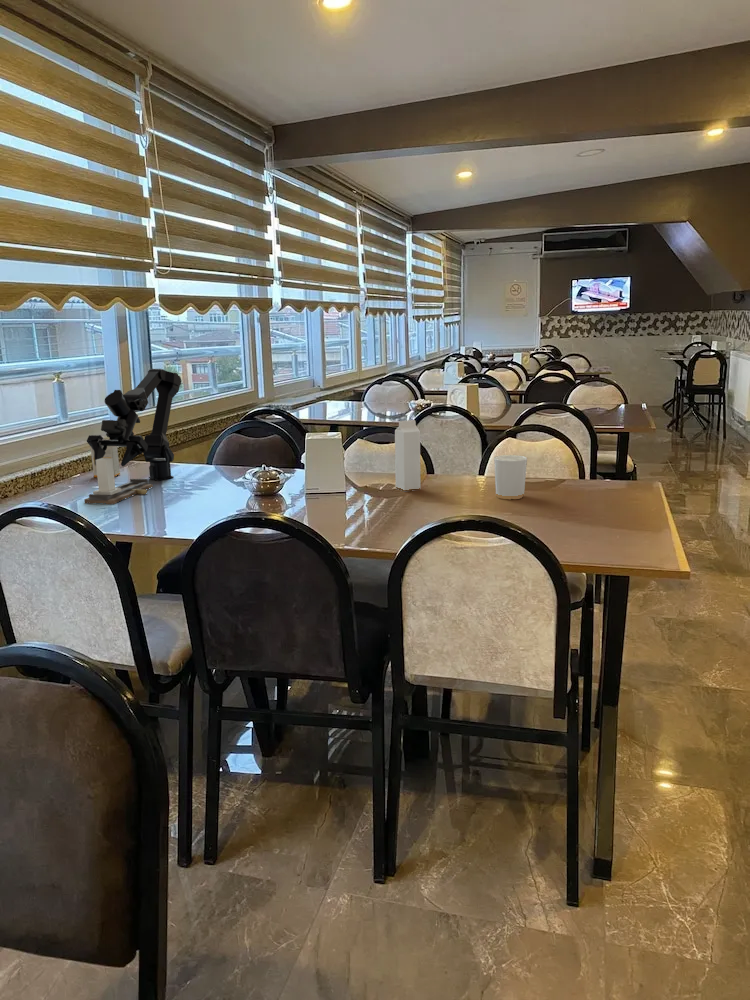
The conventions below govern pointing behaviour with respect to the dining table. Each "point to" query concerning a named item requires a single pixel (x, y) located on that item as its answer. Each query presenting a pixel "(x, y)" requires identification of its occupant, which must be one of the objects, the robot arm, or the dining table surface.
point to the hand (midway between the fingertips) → (108, 465)
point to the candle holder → (510, 475)
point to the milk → (407, 455)
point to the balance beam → (121, 492)
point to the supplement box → (110, 453)
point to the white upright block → (105, 477)
